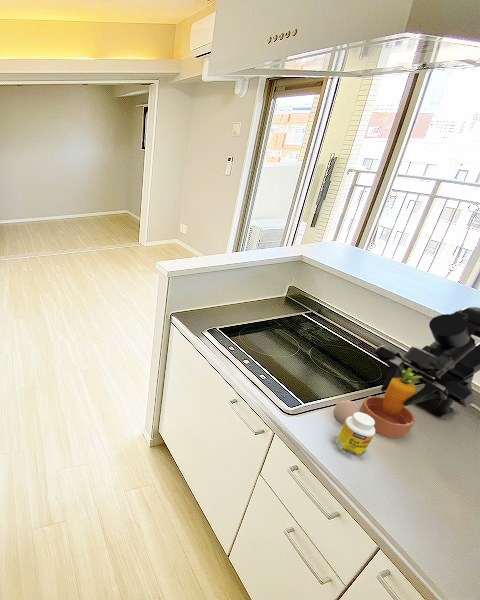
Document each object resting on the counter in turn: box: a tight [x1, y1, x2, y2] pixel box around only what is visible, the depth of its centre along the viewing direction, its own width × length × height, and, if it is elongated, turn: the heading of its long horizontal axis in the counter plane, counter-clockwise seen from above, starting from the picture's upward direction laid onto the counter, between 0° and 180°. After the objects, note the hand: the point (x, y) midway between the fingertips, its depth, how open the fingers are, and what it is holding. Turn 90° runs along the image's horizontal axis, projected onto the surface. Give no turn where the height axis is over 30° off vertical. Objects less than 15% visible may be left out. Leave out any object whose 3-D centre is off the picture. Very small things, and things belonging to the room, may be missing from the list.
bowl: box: [359, 395, 416, 439], centre depth 86 cm, size 10×10×5 cm
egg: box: [332, 399, 360, 426], centre depth 86 cm, size 5×5×7 cm
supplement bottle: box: [335, 412, 376, 457], centre depth 79 cm, size 6×6×10 cm
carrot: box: [383, 368, 422, 415], centre depth 82 cm, size 5×5×15 cm
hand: (392, 397), depth 82 cm, fingers closed on carrot, 5 cm apart
